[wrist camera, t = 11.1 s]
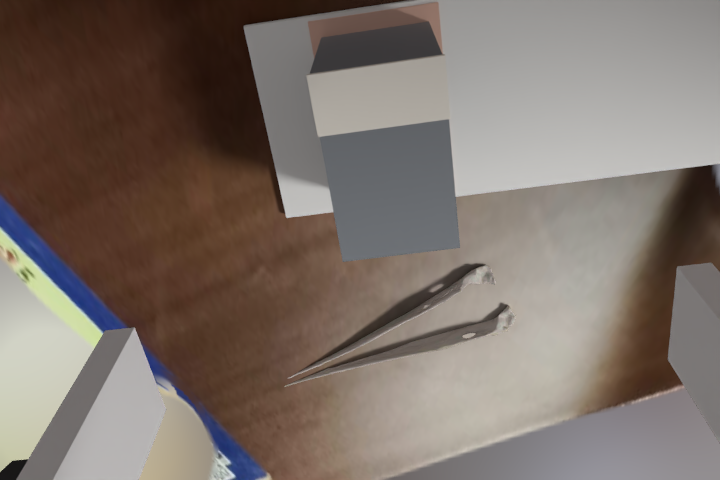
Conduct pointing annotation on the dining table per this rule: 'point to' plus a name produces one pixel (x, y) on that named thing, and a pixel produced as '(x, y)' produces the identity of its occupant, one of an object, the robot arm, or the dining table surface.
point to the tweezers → (430, 343)
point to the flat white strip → (520, 89)
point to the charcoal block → (386, 140)
